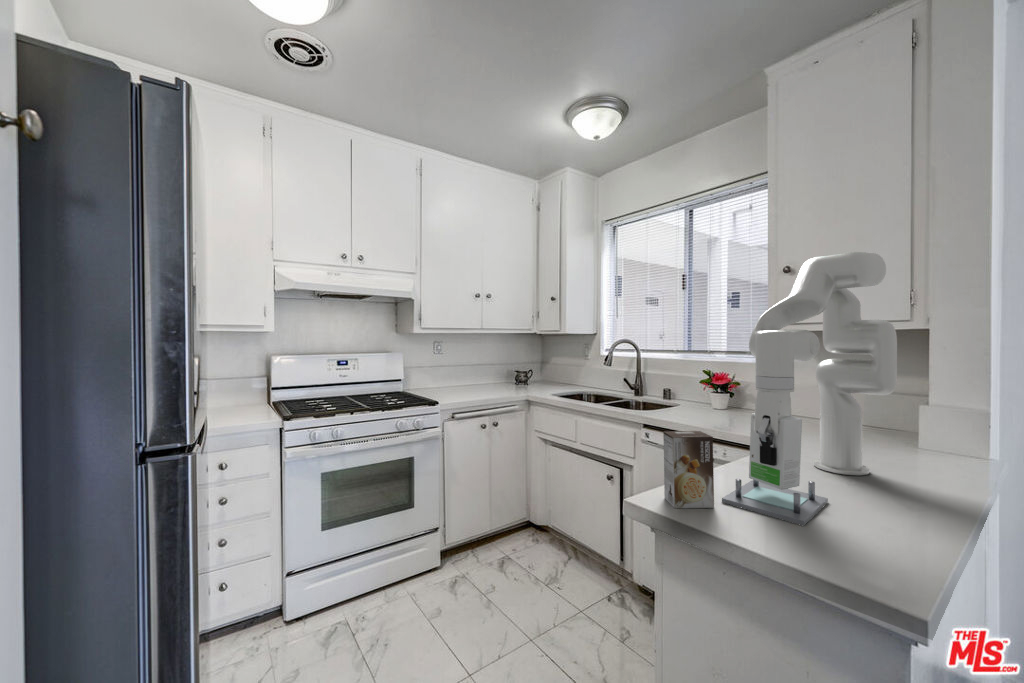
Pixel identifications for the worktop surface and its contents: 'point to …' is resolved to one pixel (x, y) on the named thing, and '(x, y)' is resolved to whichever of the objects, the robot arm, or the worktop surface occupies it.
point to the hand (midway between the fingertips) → (774, 460)
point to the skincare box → (778, 455)
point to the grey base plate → (776, 502)
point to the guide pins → (796, 495)
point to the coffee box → (688, 469)
